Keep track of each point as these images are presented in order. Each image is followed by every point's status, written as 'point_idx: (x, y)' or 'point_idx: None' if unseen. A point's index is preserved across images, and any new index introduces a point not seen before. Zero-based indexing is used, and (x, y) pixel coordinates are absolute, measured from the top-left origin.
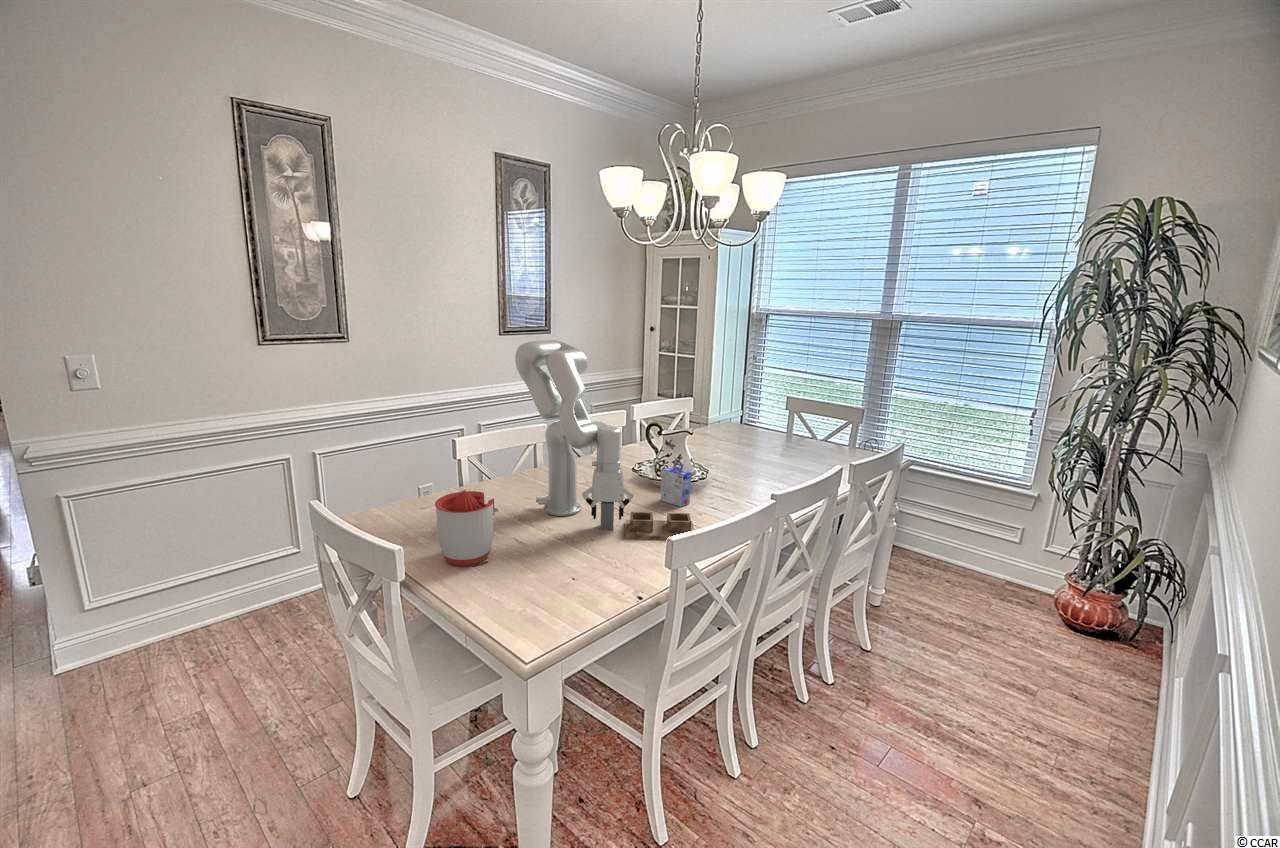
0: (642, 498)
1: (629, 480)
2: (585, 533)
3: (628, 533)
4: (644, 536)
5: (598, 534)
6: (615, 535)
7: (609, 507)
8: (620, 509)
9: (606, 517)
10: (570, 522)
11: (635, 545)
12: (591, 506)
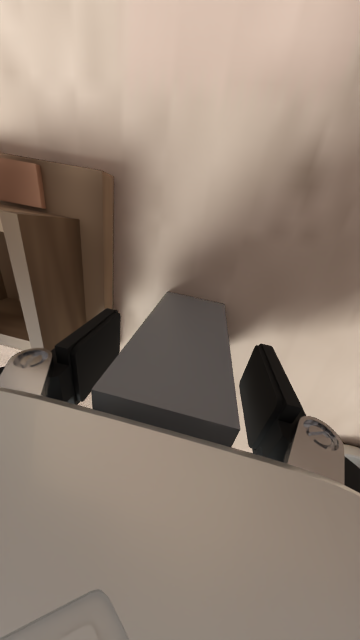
0: None
1: None
2: (314, 276)
3: (86, 194)
4: (4, 155)
5: (247, 254)
6: (162, 229)
7: (152, 370)
8: (67, 341)
9: (191, 327)
10: (336, 396)
11: (53, 49)
12: (321, 429)
